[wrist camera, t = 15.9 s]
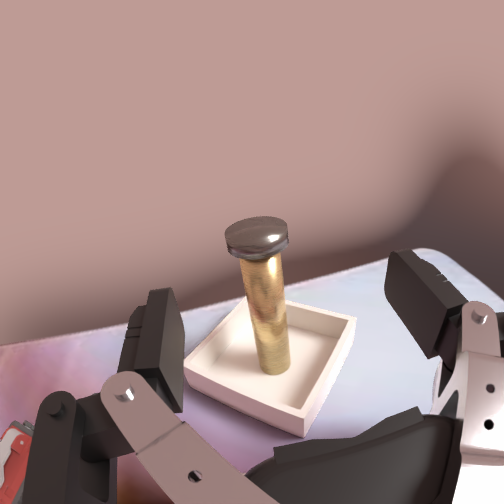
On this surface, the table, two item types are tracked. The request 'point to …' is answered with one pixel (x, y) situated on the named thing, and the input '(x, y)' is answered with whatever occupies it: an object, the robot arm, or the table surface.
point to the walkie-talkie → (14, 461)
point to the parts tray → (273, 386)
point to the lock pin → (264, 286)
